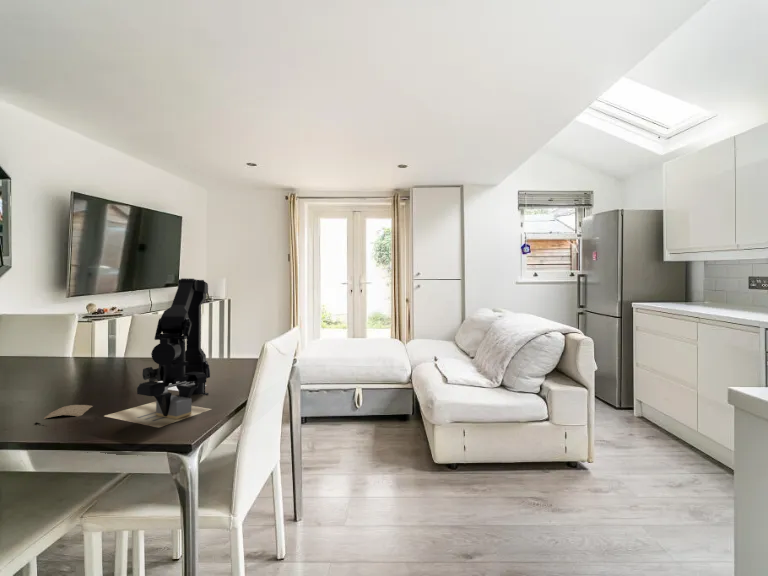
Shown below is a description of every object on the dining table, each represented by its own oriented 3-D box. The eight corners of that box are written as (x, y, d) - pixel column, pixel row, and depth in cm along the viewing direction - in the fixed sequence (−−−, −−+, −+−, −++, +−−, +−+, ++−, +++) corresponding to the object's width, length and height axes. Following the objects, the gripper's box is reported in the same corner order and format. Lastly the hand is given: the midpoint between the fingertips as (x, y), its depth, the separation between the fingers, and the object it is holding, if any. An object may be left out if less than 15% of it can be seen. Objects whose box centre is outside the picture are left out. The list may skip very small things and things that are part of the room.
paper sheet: (210, 388, 158) (210, 385, 157) (121, 407, 136) (121, 404, 136) (184, 378, 174) (184, 375, 174) (101, 393, 153) (101, 390, 153)
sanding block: (171, 410, 125) (171, 395, 125) (191, 414, 122) (191, 398, 122) (156, 415, 120) (156, 399, 120) (176, 419, 117) (176, 402, 117)
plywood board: (159, 404, 136) (159, 400, 136) (211, 413, 127) (212, 409, 127) (103, 420, 120) (103, 415, 120) (158, 432, 111) (158, 427, 111)
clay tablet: (102, 411, 130) (102, 402, 130) (92, 421, 120) (92, 412, 120) (45, 416, 125) (45, 406, 125) (30, 427, 115) (30, 417, 115)
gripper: (181, 351, 133) (180, 401, 133) (123, 361, 116) (123, 418, 116) (208, 354, 128) (207, 406, 128) (152, 364, 111) (151, 424, 111)
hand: (173, 413), depth 121 cm, fingers closed on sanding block, 5 cm apart
